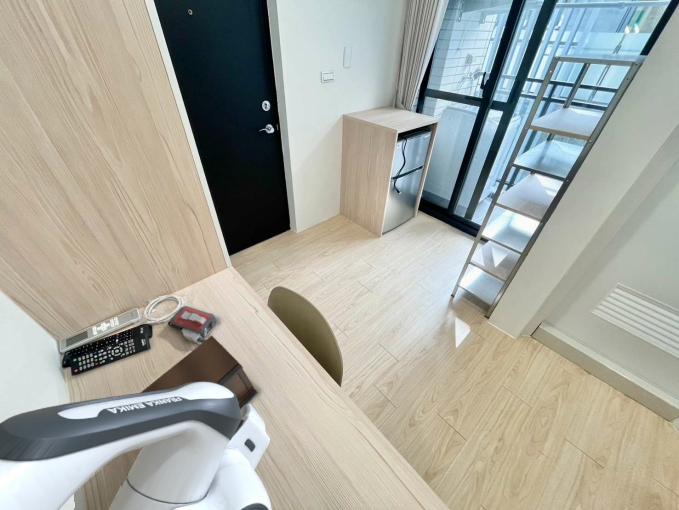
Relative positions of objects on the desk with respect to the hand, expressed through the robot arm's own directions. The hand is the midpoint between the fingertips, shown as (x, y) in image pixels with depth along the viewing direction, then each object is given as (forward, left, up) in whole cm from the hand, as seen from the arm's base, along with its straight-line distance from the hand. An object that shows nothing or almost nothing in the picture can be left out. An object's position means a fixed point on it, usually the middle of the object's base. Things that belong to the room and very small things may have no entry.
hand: (205, 444), depth 54 cm
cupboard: (+6, +9, -7) cm, 13 cm away
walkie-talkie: (+15, +30, -8) cm, 34 cm away
